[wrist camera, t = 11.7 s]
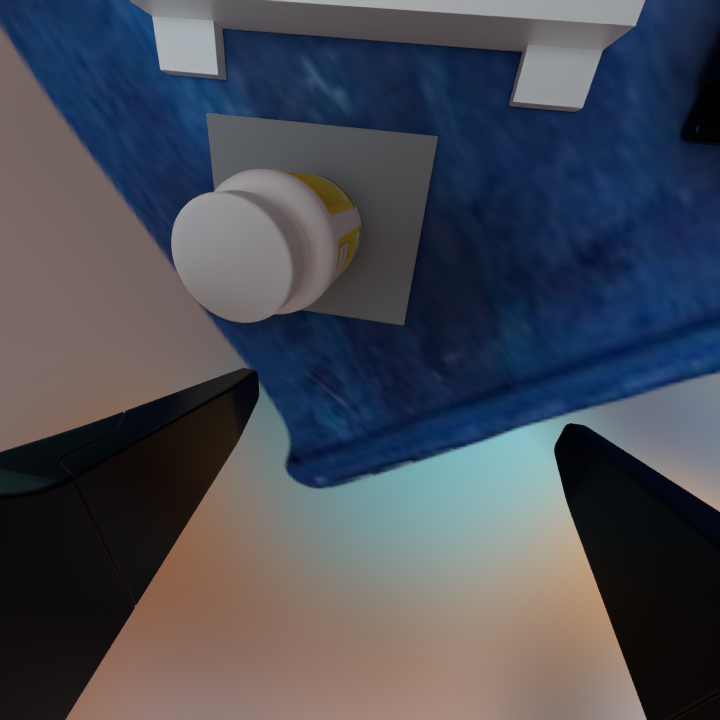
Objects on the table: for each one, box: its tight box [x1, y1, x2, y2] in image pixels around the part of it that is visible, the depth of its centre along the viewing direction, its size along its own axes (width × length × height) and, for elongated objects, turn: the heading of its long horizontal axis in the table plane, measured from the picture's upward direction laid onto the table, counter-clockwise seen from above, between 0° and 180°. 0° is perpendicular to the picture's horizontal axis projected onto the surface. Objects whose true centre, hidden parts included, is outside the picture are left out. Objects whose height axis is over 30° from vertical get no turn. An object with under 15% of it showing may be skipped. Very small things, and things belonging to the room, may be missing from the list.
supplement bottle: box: [171, 169, 362, 323], centre depth 14 cm, size 5×5×10 cm
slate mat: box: [206, 113, 438, 325], centre depth 19 cm, size 12×10×1 cm
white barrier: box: [129, 0, 645, 112], centre depth 13 cm, size 20×5×3 cm, turn 85°
